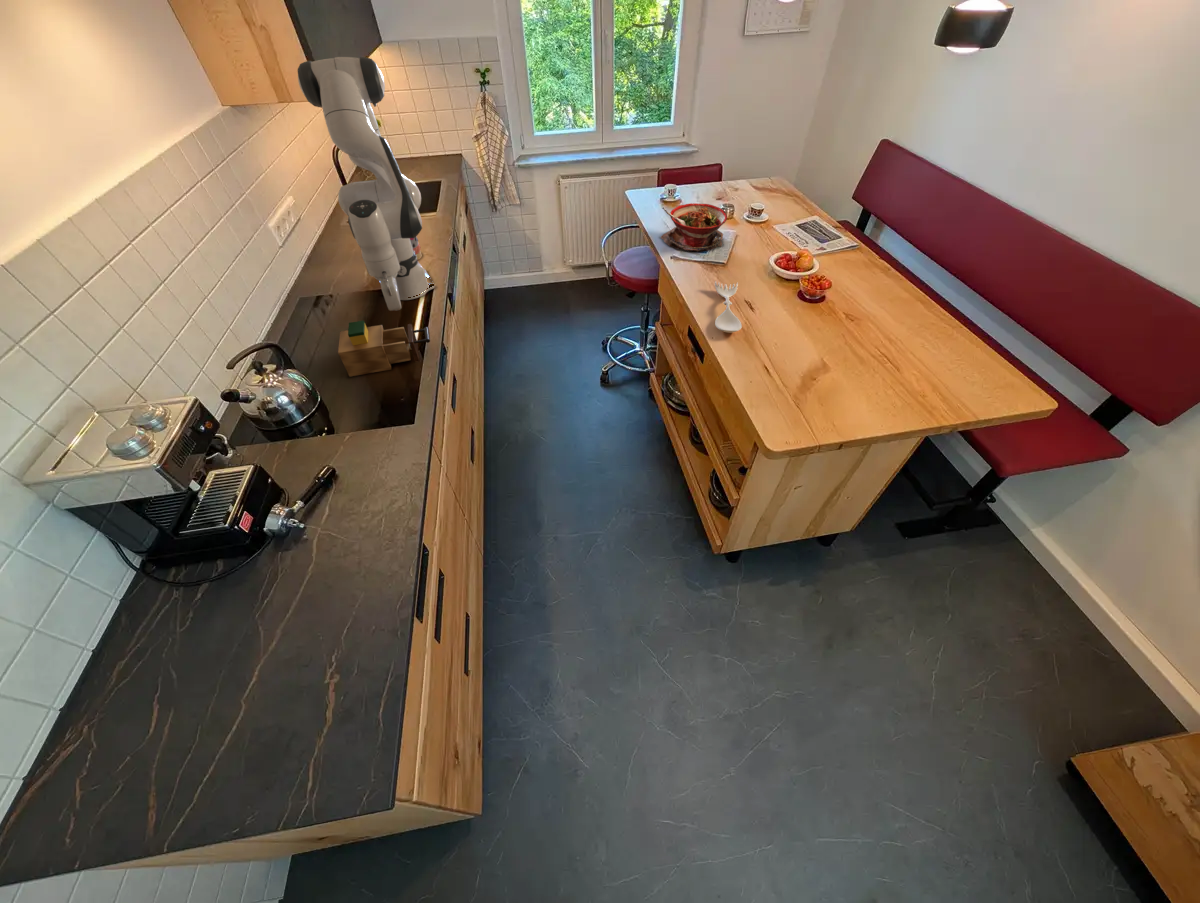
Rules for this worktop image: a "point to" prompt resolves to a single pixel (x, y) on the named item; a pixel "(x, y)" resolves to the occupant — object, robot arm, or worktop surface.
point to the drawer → (402, 343)
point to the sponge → (358, 332)
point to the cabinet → (364, 353)
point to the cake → (416, 247)
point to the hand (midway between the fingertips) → (397, 307)
